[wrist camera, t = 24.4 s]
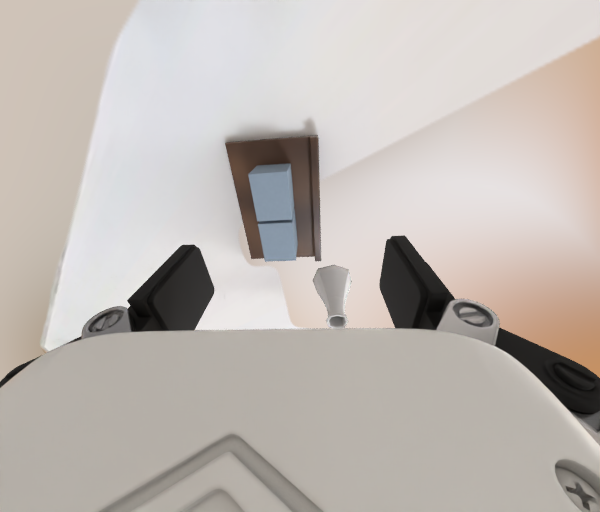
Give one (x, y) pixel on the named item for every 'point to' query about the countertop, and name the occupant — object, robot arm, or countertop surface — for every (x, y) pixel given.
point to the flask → (333, 293)
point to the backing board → (303, 180)
